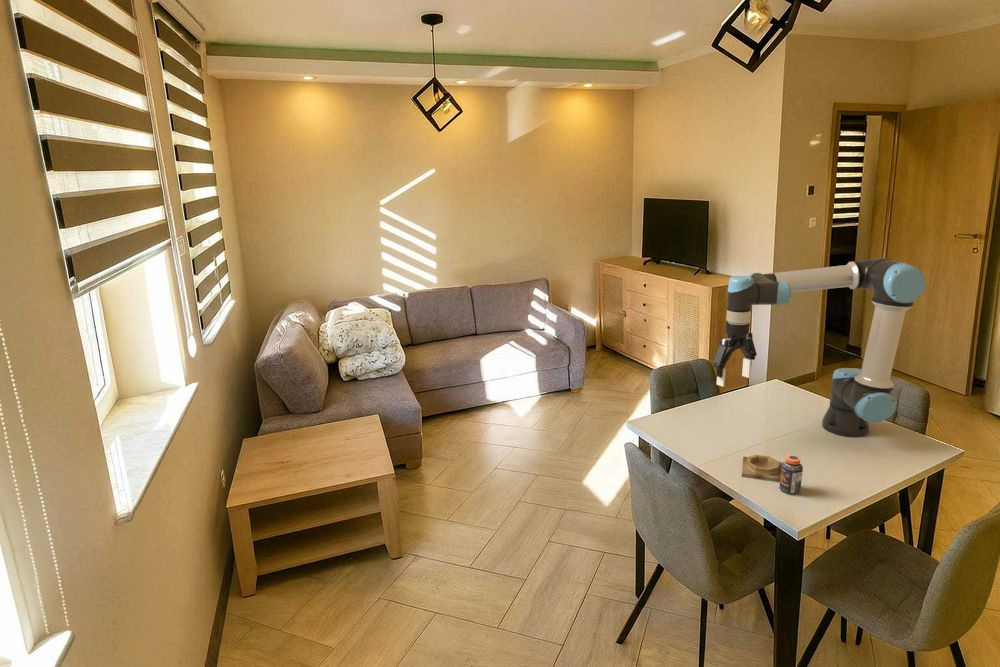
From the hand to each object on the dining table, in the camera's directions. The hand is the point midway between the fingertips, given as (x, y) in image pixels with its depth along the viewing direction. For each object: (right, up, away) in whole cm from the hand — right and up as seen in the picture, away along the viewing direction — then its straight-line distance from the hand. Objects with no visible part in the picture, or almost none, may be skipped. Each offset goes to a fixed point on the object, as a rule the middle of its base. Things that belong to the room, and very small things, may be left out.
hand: (733, 381), depth 210 cm
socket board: (+5, -29, -11) cm, 31 cm away
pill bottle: (+9, -32, -23) cm, 40 cm away
